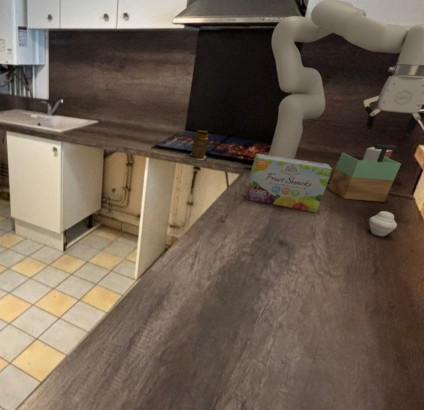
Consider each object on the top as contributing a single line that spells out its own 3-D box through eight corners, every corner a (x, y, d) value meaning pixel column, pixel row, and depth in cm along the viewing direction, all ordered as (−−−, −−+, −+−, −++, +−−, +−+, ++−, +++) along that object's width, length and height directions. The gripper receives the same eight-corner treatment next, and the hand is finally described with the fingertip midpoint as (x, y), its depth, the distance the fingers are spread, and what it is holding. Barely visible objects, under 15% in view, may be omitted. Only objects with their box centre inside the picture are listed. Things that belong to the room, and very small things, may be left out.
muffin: (362, 226, 106) (372, 205, 103) (388, 232, 103) (398, 210, 100) (367, 235, 101) (377, 213, 98) (394, 241, 98) (405, 218, 95)
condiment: (206, 156, 166) (211, 131, 162) (202, 160, 160) (208, 134, 155) (190, 153, 170) (195, 128, 165) (186, 157, 163) (191, 131, 158)
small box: (372, 183, 144) (385, 152, 138) (354, 178, 148) (366, 148, 143) (380, 180, 148) (393, 149, 142) (363, 175, 152) (374, 146, 147)
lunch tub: (335, 168, 132) (346, 136, 127) (374, 171, 131) (387, 139, 127) (352, 177, 122) (366, 144, 118) (395, 180, 122) (410, 147, 117)
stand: (328, 188, 135) (335, 168, 132) (366, 191, 135) (374, 171, 131) (343, 198, 126) (351, 177, 123) (384, 201, 126) (393, 180, 122)
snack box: (245, 200, 120) (256, 156, 113) (244, 194, 124) (255, 152, 118) (317, 213, 113) (333, 167, 107) (313, 206, 118) (329, 162, 111)
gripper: (376, 70, 104) (356, 129, 111) (454, 74, 97) (427, 136, 104) (371, 70, 111) (352, 125, 117) (443, 73, 104) (419, 132, 110)
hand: (387, 130), depth 111 cm, fingers open, 9 cm apart
